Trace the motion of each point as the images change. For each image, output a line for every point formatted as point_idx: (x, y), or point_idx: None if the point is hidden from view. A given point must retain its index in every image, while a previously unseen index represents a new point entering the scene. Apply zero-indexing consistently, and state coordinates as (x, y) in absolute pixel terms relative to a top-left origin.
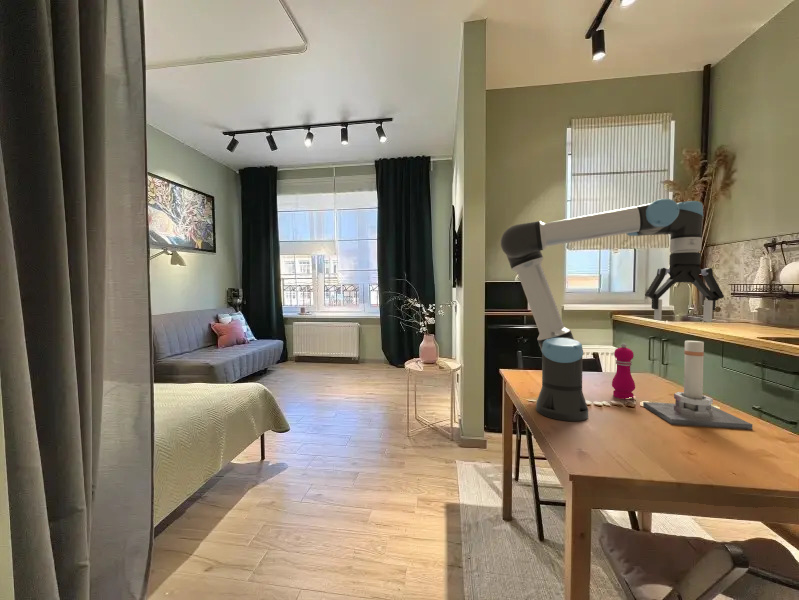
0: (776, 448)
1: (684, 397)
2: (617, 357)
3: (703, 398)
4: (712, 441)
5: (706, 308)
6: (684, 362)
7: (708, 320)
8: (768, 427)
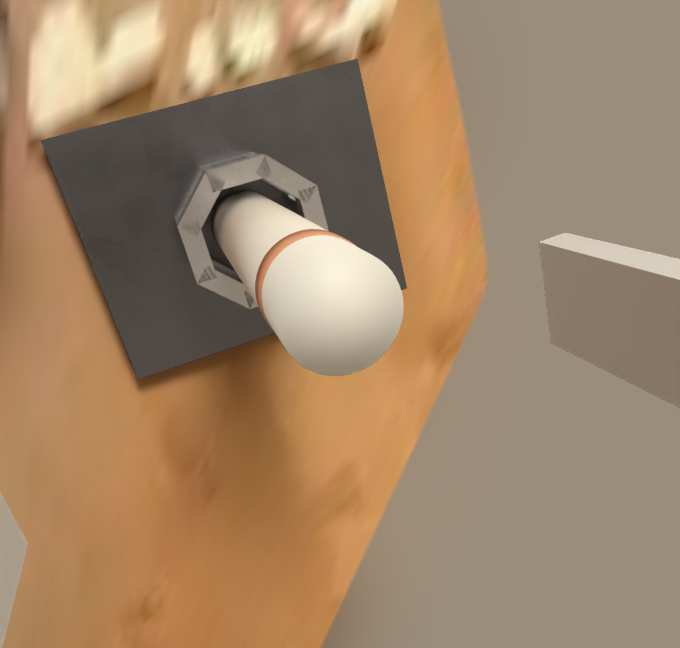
0: (389, 436)
1: (211, 285)
2: None
3: (301, 213)
4: (234, 478)
5: (675, 344)
6: (246, 265)
7: (558, 339)
8: (462, 225)
